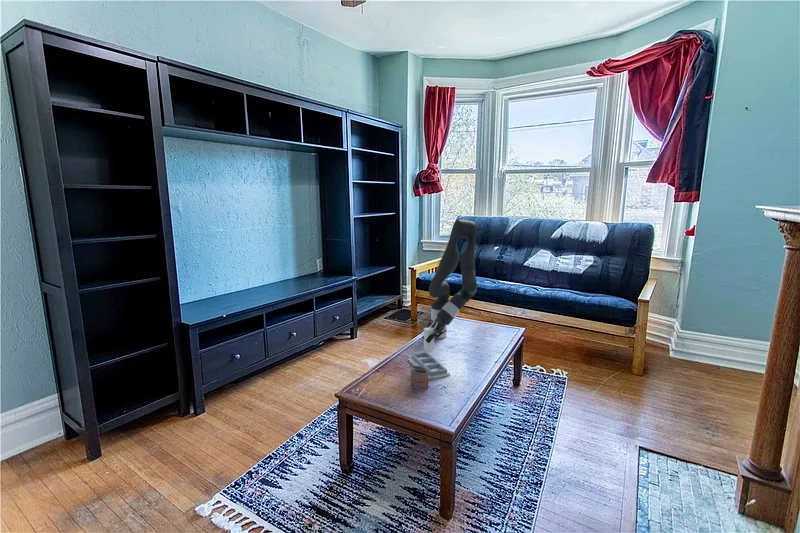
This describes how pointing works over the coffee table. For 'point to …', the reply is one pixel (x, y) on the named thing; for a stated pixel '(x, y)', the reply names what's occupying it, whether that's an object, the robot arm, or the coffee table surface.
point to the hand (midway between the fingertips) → (425, 340)
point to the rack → (429, 365)
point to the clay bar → (426, 333)
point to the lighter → (419, 377)
